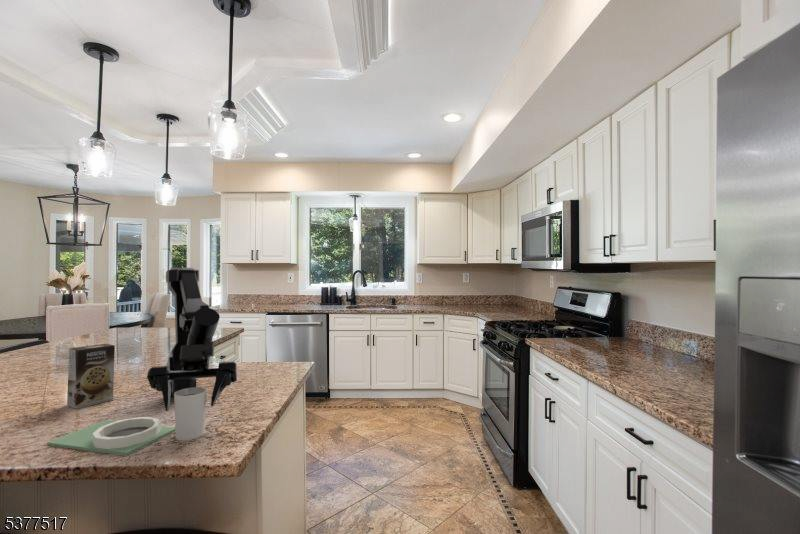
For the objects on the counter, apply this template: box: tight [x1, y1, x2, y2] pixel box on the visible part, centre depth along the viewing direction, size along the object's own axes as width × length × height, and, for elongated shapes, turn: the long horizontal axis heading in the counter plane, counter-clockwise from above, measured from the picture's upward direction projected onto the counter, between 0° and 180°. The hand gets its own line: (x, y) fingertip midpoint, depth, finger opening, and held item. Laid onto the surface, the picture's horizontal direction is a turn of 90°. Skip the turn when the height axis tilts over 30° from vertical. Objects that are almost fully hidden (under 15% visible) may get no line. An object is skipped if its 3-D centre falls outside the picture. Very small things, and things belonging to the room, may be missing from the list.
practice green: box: [46, 416, 176, 457], centre depth 86 cm, size 21×13×3 cm, turn 77°
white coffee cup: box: [173, 386, 208, 441], centre depth 87 cm, size 7×7×10 cm
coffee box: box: [66, 343, 116, 410], centre depth 109 cm, size 9×6×16 cm
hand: (189, 407), depth 86 cm, fingers open, 9 cm apart
